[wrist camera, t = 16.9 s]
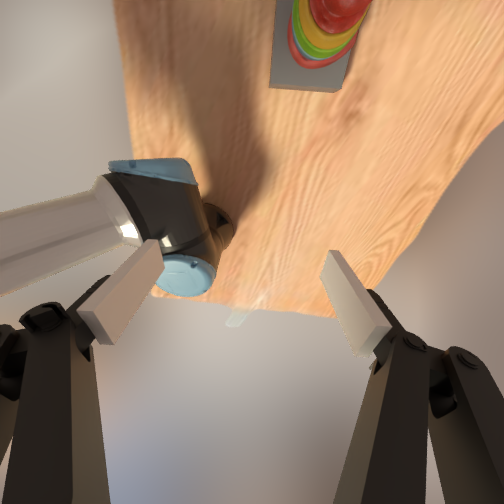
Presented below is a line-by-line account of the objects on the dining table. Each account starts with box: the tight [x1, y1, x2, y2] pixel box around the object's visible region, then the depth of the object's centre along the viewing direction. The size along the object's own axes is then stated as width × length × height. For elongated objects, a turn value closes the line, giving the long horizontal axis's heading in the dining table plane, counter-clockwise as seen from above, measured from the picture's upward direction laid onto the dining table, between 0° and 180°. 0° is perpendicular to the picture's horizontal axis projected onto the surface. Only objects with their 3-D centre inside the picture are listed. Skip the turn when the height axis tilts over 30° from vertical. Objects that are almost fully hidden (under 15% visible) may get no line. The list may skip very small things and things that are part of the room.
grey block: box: [269, 0, 351, 93], centre depth 31 cm, size 13×14×4 cm
